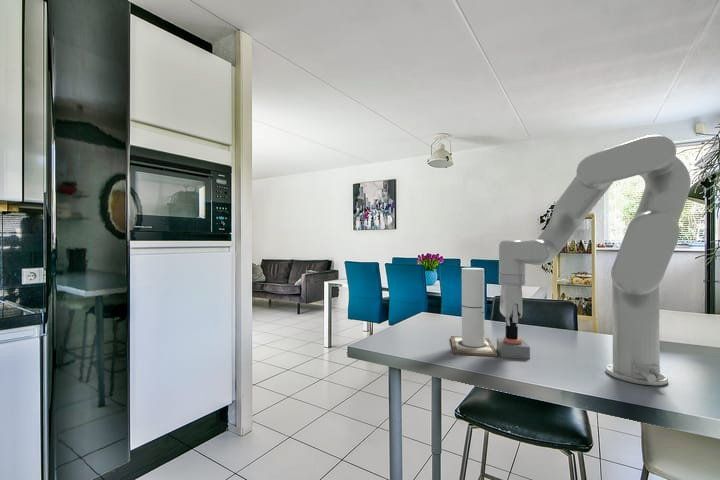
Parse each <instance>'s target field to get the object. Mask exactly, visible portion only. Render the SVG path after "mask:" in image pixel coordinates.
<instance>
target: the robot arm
mask: <svg viewBox="0 0 720 480" xmlns="http://www.w3.org/2000/svg"><path fill="white" fill-rule="evenodd" d="M676 155H677V146H676V143H675V142H674V141H673V140H672V139H670V138H669V137H667V136H664V135H660V134H652V135H646V136H643V137H640V138H637V139H634V140H630V141H628V142H623V143H621V144H618V145H615V146H612V147H610V148H606V149H604V150H600V151H597V152H594V153H592V154H589V155H588V156H586V157H584V158H583V159H582V160H581V161H579V163H578V165H577V168H576V176H575V177H574V178H573V179H572V181H571V182H570V183H569V185H568V186H567V188H566V189H565V190H564V192H563V193H562V194H561V195H560V197H559V198H558V200H557V201H556V202H555V204H554V206H553V209H552V213H551V217H550V219H549V221H548V223H547V225H546V227H545V228H544V230H543V231H542V232H541V234H539V236H538V237H537V239H530V240H514V239H513V240H512V239H510V240H509V239H508V240H506V239H505V240H501V241H500V242H499V244H498V284H499V285H500V298H499V302H500V303H499V312H500V314H501V315H502V316H503V317H505V337H506V338H507V339H518V338H519V337H518V334H519V329H518V328H519V325H518V323H519V319H521V318H522V317H523V289H522V288H523V286H526V265H534V266H543V265H546V264H548V263H551V262H553V261H554V260H555V258H556V257H557V256H558V255H559V253H561V251H562V250H563V249H564V248H565V246H566V245H567V243H568V242H569V241H570V239H571V238H572V237H573V235H574V234H575V232H577V230H578V228H580V227H581V225H582V224H583V222H584V221H585V220H586V218H587V217H588V215H589V214H590V213H591V212H592V210H593V209H594V207H595V206H596V205H597V204H598V202H599V201H600V200H601V199H602V198H603V196H605V193H607V191H608V190H609V189H610V187H611V186H613V185H612V184H613V183H614V182H617V181H621V180H626V179H630V178H632V177H635V176H640V177H641V178H642V179H643V181H644V190H643V192H642V196H641V198H640V202H639V204H638V207H637V209H636V212H635V214H634V217H633V218H632V219H631V220H630V222H629V223H628V226H627V229H626V231H625V232H624V236H623V239H622V242H621V244H620V247H619V249H618V252H617V255H616V257H615V259H614V263H613V265H612V267H611V271H610V276H611V281H612V284H611V285H612V288H611V289H612V292H611V293H612V296H611V297H612V314H611V315H612V363H609V364H607V365H606V366H605V372H606V373H607V374H608V375H610V376H611V377H614V378H616V379H618V380H621V381H623V382H628V383H633V384H637V385H644V386H656V387H657V386H659V387H660V386H665V385H667V384H668V383H669V377H668V376H667V375H666V374H664V373H663V372H661V364H660V363H661V362H660V359H661V353H660V348H661V347H660V318H661V317H660V315H661V314H660V311H661V310H660V286H659V285H660V283H662V280H663V278H664V275H665V273H666V270H667V269H668V266H669V264H670V261H671V260H672V257H673V254H674V251H675V249H676V247H677V244H678V241H679V240H680V239H679V238H680V234H681V229H680V225H679V222H680V219H681V216H682V214H683V211H684V209H685V208H684V207H685V205H686V201H687V200H688V197H689V192H690V189H691V183H692V182H691V176H690V172H689V170H688V168H687V166H686V165H685V164H684V162H683V161H682V160H681V159H680V158H678V156H676Z"/></svg>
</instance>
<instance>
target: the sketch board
mask: <svg viewBox="0 0 720 480" xmlns="http://www.w3.org/2000/svg"><path fill="white" fill-rule="evenodd" d="M450 342H451V347H452V354H453V355H462V356H463V355H464V356H477V357H478V356H480V357H493V358H494V357H499V352H498V351H497V349H495V347H494V345H493V343H492V341H491V340H490V338H489V337H484V346H482V347H470V346H466V345H463V344H462V336H457V335H456V336H455V335H451V336H450Z"/></svg>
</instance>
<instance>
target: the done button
mask: <svg viewBox="0 0 720 480" xmlns="http://www.w3.org/2000/svg"><path fill="white" fill-rule="evenodd" d="M503 339H504V343H507V344H511V345H520V344H522V340H523V339H522V338H521V337H518V339H507V338H506V336H503Z"/></svg>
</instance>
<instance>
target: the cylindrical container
mask: <svg viewBox="0 0 720 480" xmlns="http://www.w3.org/2000/svg"><path fill="white" fill-rule="evenodd" d="M461 337H462V344H463V345H466V346H470V347H482V346H484V338H485V268H482V267H461Z"/></svg>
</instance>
